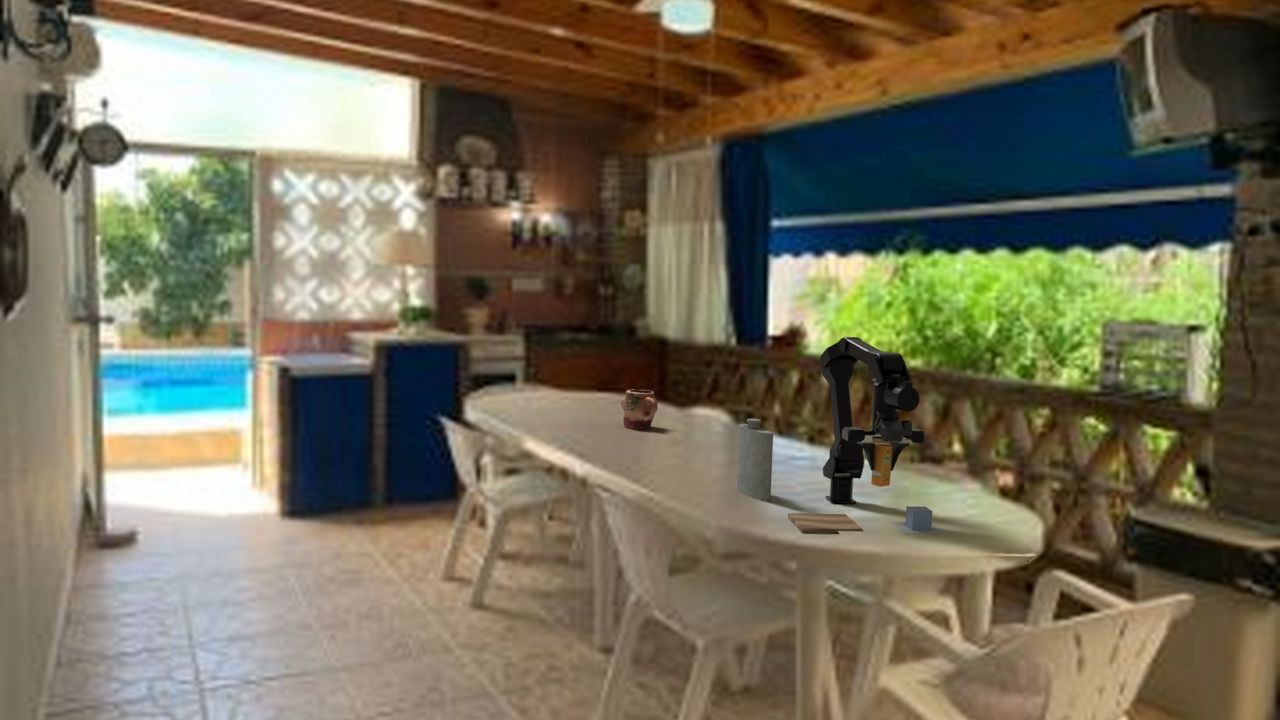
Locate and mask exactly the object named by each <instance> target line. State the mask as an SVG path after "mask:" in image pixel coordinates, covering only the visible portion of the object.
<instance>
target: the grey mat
mask: <svg viewBox="0 0 1280 720" xmlns="http://www.w3.org/2000/svg"><path fill="white" fill-rule="evenodd" d="M889 523H890V524H892V525H893V526H894V527H895V528H896V529H898V530H899V531H900V532H901V533H903V534H906V535H907V534H909V535H910V534H913V535H916V534H917V535H918V534H919V535H921V534H922V535H923V534H924V535H948V533H947V532H946V531H944V530H943V529H942V528H940V527H939V526H937V525H935V524H934V523H933V522H932V527H931V531H927V530H911V529H910V528H908V527H907V526H906V525H905V524H906V521H905V522H904V521H903V522H901V521H900V522H897V521H896V522H894V521H892V522H891V521H890V522H889Z"/></svg>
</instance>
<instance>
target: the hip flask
mask: <svg viewBox="0 0 1280 720" xmlns="http://www.w3.org/2000/svg"><path fill="white" fill-rule="evenodd" d="M761 420H762V419H760V418H759V419H758V418H747V419H746V423H739V424H738V441H737V442H738V443H737V446H738V447H737V466H736V468H737V470H736V471H737V472H736V490H737V491H739V492H740V493H742V494H744V495H746V496H748V497H750V498H752V499H756V500H758V501H763V502H769V501H771V497H772V496H771V494H772V476H773V475H772V472H773V451H774V450H773V449H774V447H773V445H774V432H773V431H770V430H765V429H761V428H760V427H761V425H760V424H761V423H762V421H761Z"/></svg>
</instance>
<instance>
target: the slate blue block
mask: <svg viewBox="0 0 1280 720" xmlns="http://www.w3.org/2000/svg"><path fill="white" fill-rule="evenodd" d="M905 507H906V511H905V522H906V524H905V525H906V526H907V527H908V528H910V529H911V530H927V531H931V527H932V523H933V510H931V509H930V508H928V507H926V506H920V505H919V506H918V505H917V506H916V505H915V506H913V505H912V506H909V505H908V506H907V505H906V506H905Z"/></svg>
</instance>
